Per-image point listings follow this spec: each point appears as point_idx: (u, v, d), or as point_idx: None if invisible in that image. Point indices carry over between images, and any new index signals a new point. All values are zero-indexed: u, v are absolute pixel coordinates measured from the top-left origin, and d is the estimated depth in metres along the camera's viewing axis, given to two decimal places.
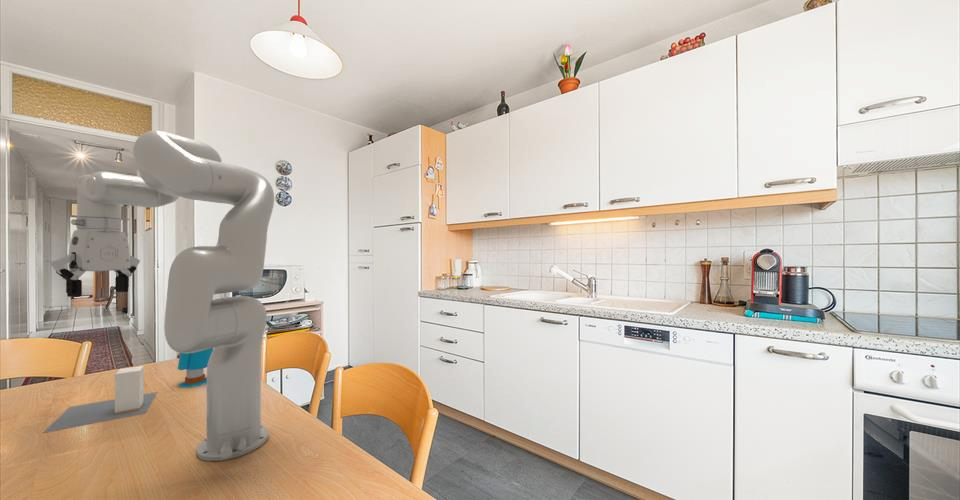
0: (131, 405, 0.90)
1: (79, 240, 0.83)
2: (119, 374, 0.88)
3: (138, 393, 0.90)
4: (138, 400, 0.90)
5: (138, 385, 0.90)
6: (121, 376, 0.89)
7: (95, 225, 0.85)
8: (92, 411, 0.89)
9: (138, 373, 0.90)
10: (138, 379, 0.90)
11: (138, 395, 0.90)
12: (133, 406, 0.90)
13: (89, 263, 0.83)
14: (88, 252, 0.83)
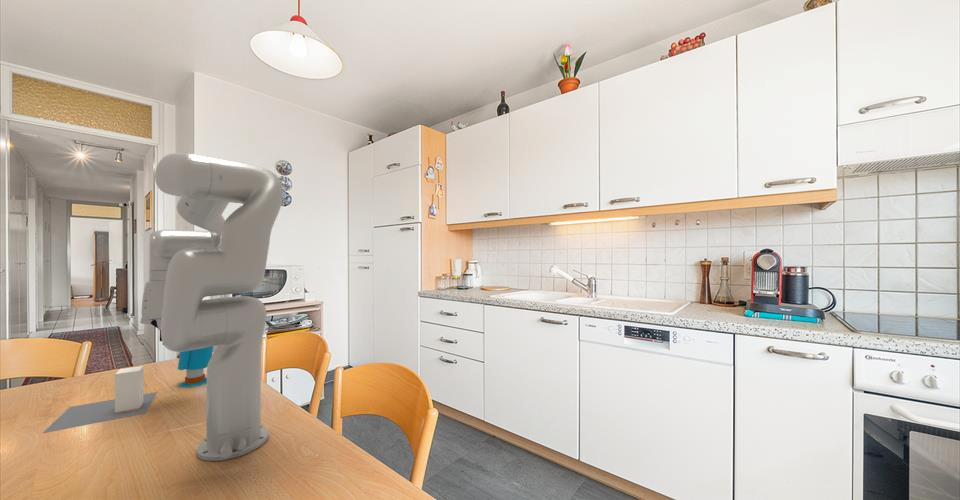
0: (131, 405, 0.90)
1: None
2: (119, 374, 0.88)
3: (138, 393, 0.90)
4: (138, 400, 0.90)
5: (138, 385, 0.90)
6: (121, 376, 0.89)
7: None
8: (92, 411, 0.89)
9: (138, 373, 0.90)
10: (138, 379, 0.90)
11: (138, 395, 0.90)
12: (133, 406, 0.90)
13: None
14: None
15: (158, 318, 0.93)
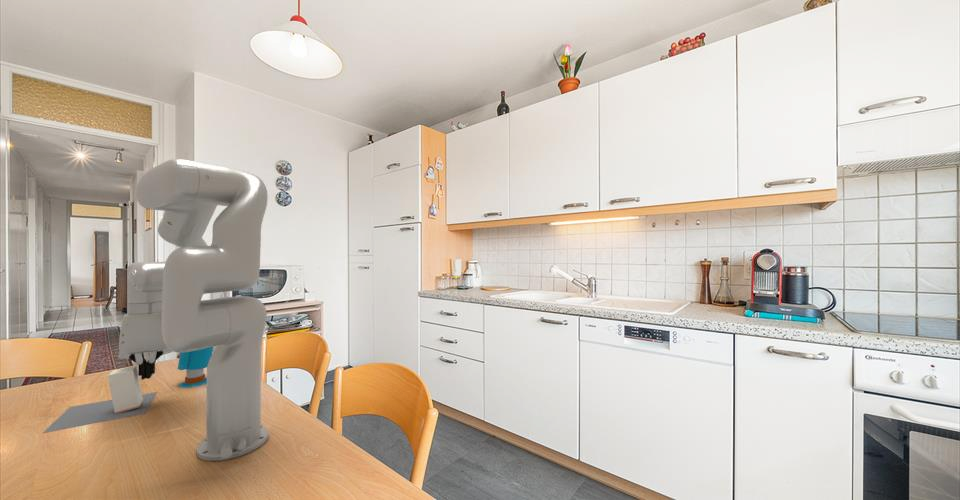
0: (130, 404, 0.90)
1: None
2: (112, 375, 0.88)
3: (135, 392, 0.90)
4: (136, 398, 0.90)
5: (134, 384, 0.90)
6: (114, 377, 0.88)
7: None
8: (92, 411, 0.89)
9: (131, 372, 0.90)
10: (133, 378, 0.90)
11: (135, 393, 0.90)
12: (132, 405, 0.90)
13: None
14: None
15: (136, 352, 0.91)
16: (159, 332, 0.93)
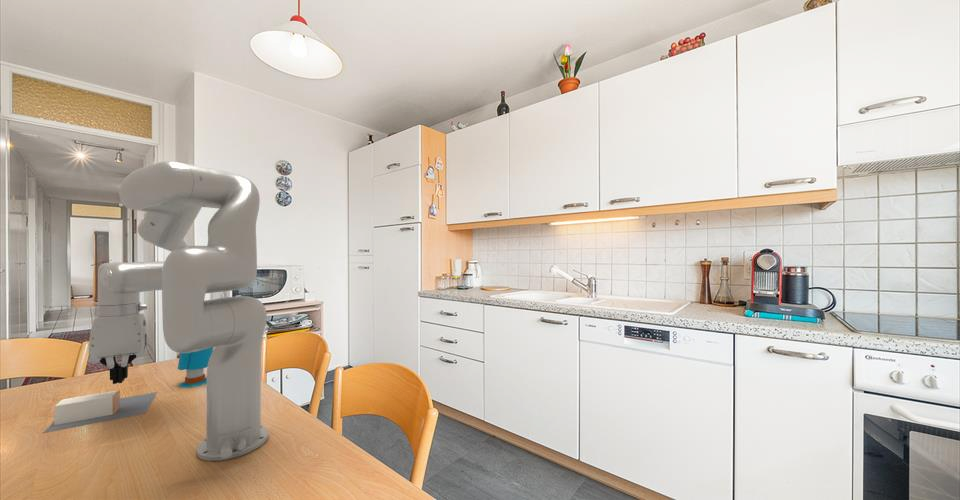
0: (106, 403, 0.87)
1: (145, 322, 0.94)
2: (56, 421, 0.82)
3: (90, 400, 0.86)
4: (101, 399, 0.87)
5: (78, 403, 0.84)
6: (59, 419, 0.83)
7: None
8: None
9: (59, 406, 0.83)
10: (68, 404, 0.84)
11: (93, 400, 0.86)
12: (108, 401, 0.87)
13: None
14: None
15: (107, 356, 0.88)
16: (131, 335, 0.90)
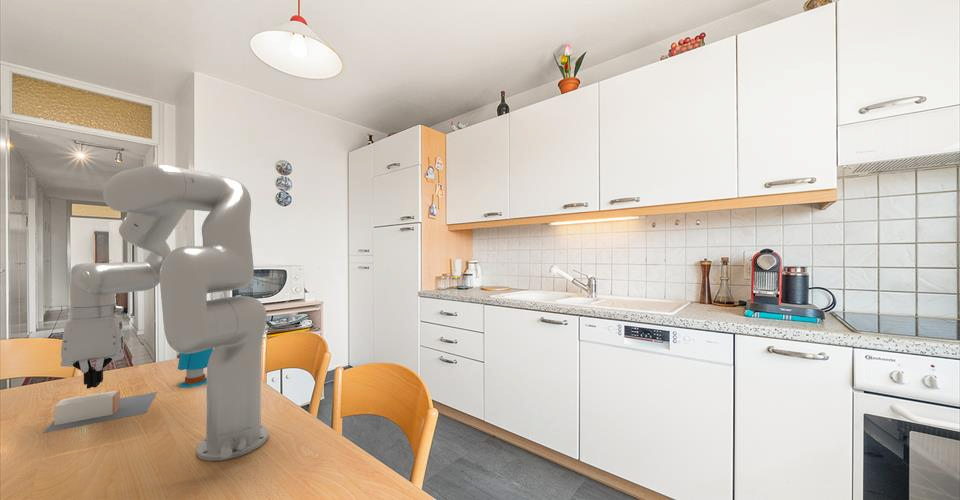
0: (106, 403, 0.87)
1: None
2: (56, 421, 0.82)
3: (90, 400, 0.86)
4: (101, 399, 0.87)
5: (78, 403, 0.84)
6: (59, 419, 0.83)
7: None
8: None
9: (59, 406, 0.83)
10: (68, 404, 0.84)
11: (93, 400, 0.86)
12: (108, 401, 0.87)
13: None
14: None
15: (81, 360, 0.85)
16: (106, 338, 0.87)
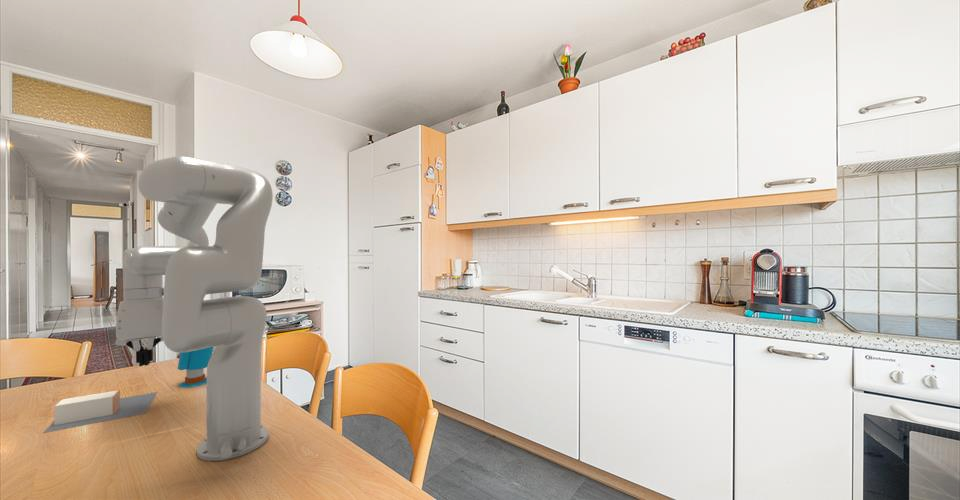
0: (106, 403, 0.87)
1: None
2: (56, 421, 0.82)
3: (90, 400, 0.86)
4: (101, 399, 0.87)
5: (78, 403, 0.84)
6: (59, 419, 0.83)
7: None
8: None
9: (59, 406, 0.83)
10: (68, 404, 0.84)
11: (93, 400, 0.86)
12: (108, 401, 0.87)
13: None
14: None
15: (134, 339, 0.90)
16: (156, 318, 0.92)
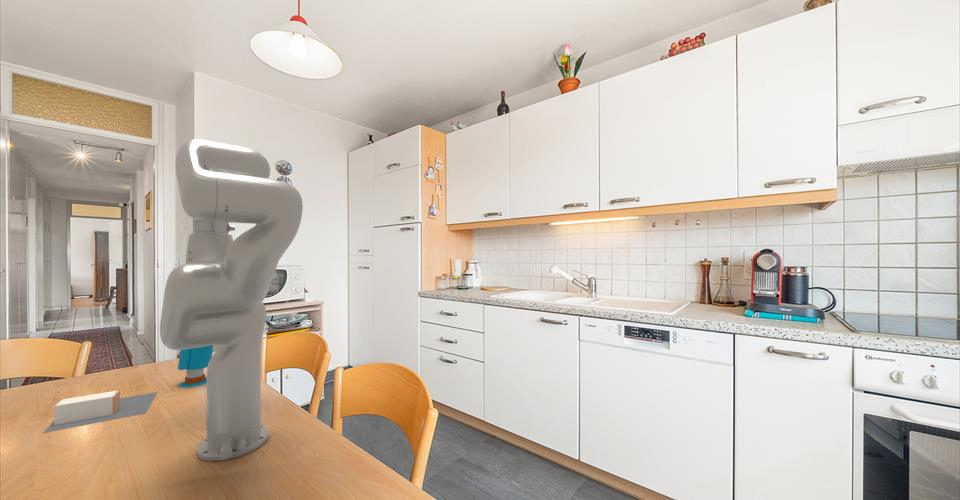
0: (106, 403, 0.87)
1: None
2: (56, 421, 0.82)
3: (90, 400, 0.86)
4: (101, 399, 0.87)
5: (78, 403, 0.84)
6: (59, 419, 0.83)
7: None
8: None
9: (59, 406, 0.83)
10: (68, 404, 0.84)
11: (93, 400, 0.86)
12: (108, 401, 0.87)
13: None
14: None
15: None
16: (224, 252, 0.93)
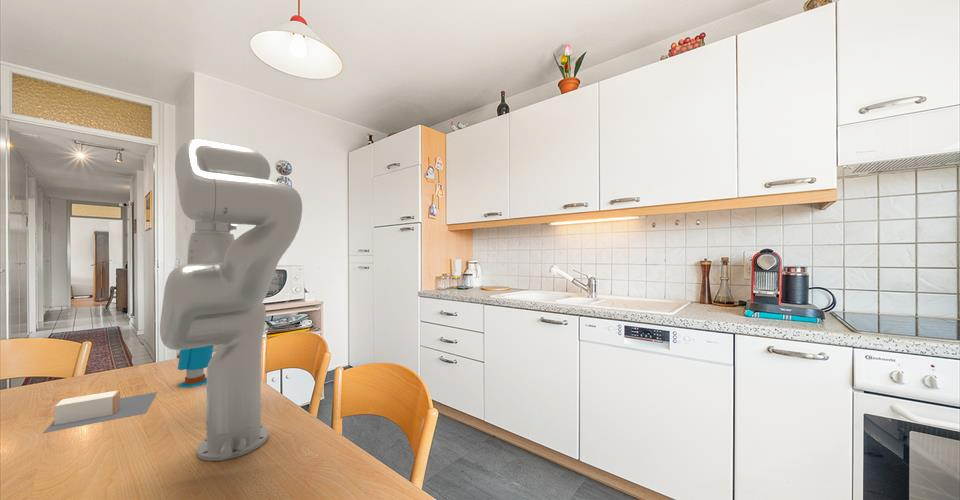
0: (106, 403, 0.87)
1: None
2: (56, 421, 0.82)
3: (90, 400, 0.86)
4: (101, 399, 0.87)
5: (78, 403, 0.84)
6: (59, 419, 0.83)
7: None
8: None
9: (59, 406, 0.83)
10: (68, 404, 0.84)
11: (93, 400, 0.86)
12: (108, 401, 0.87)
13: None
14: None
15: None
16: (225, 252, 0.93)
